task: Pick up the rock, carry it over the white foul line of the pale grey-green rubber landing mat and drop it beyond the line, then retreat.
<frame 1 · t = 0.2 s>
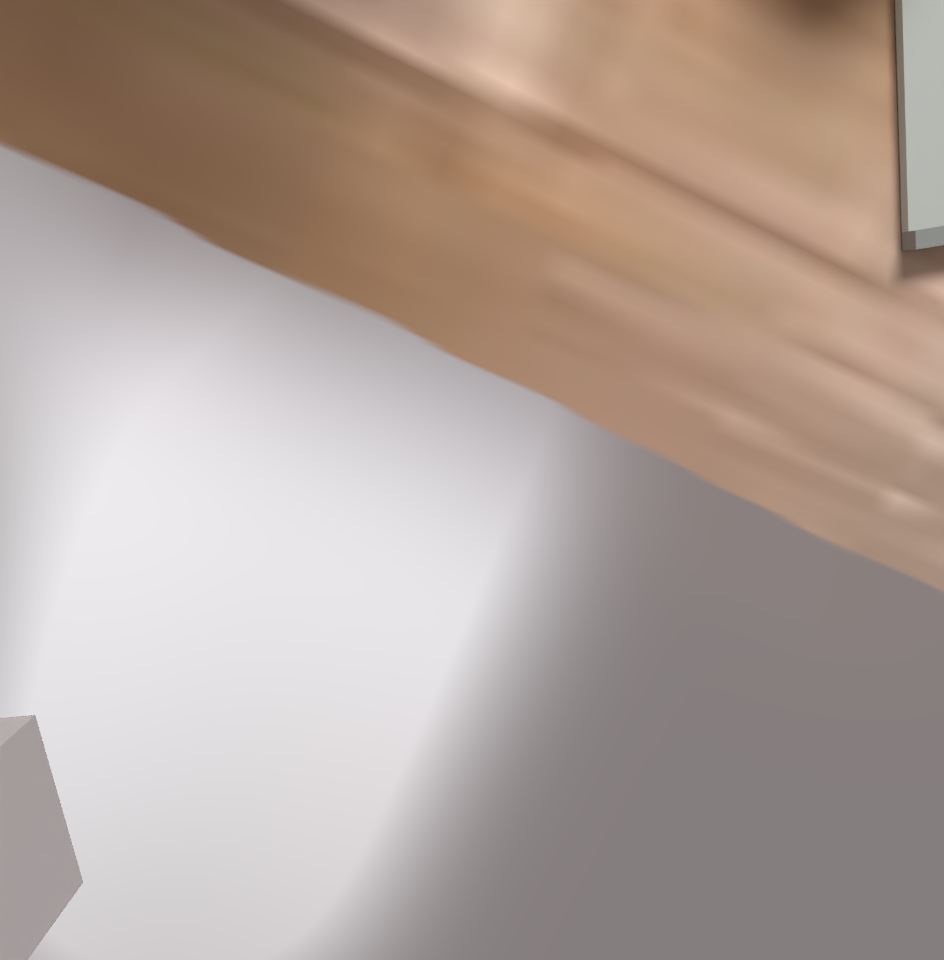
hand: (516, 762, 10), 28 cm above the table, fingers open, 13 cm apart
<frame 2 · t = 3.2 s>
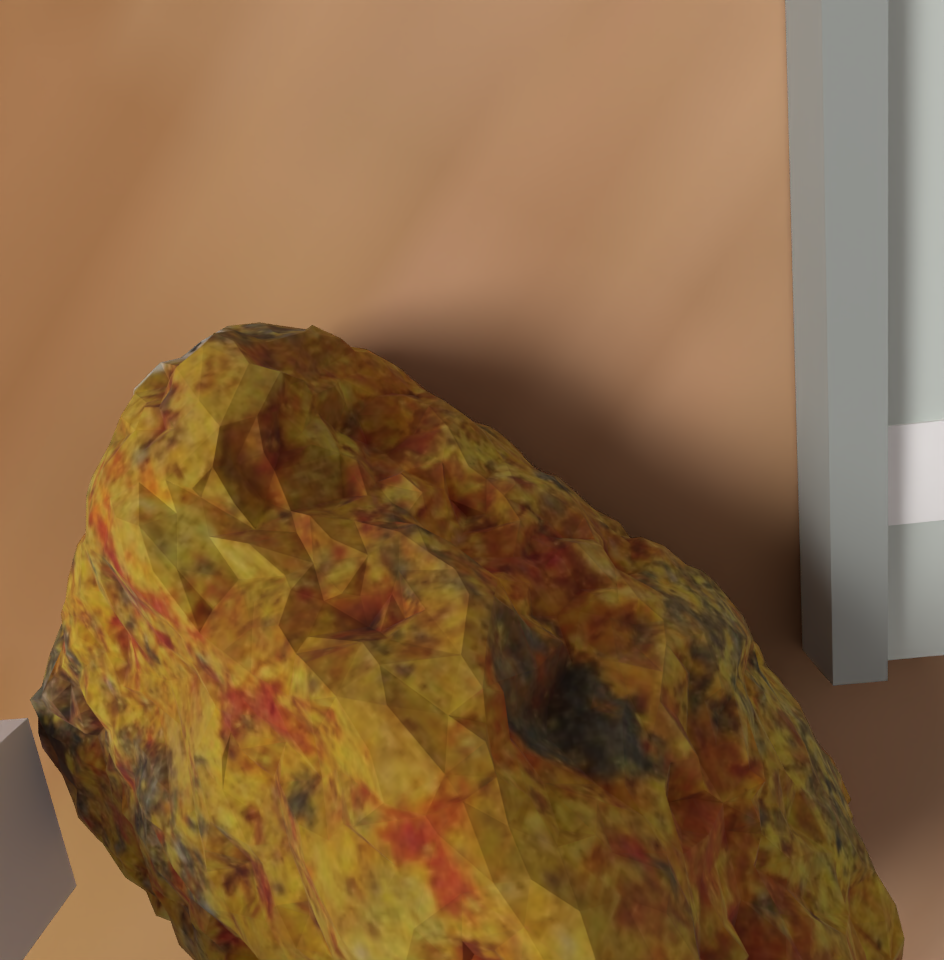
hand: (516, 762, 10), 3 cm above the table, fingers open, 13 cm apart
rock: (469, 638, 13), on the table, touching gripper
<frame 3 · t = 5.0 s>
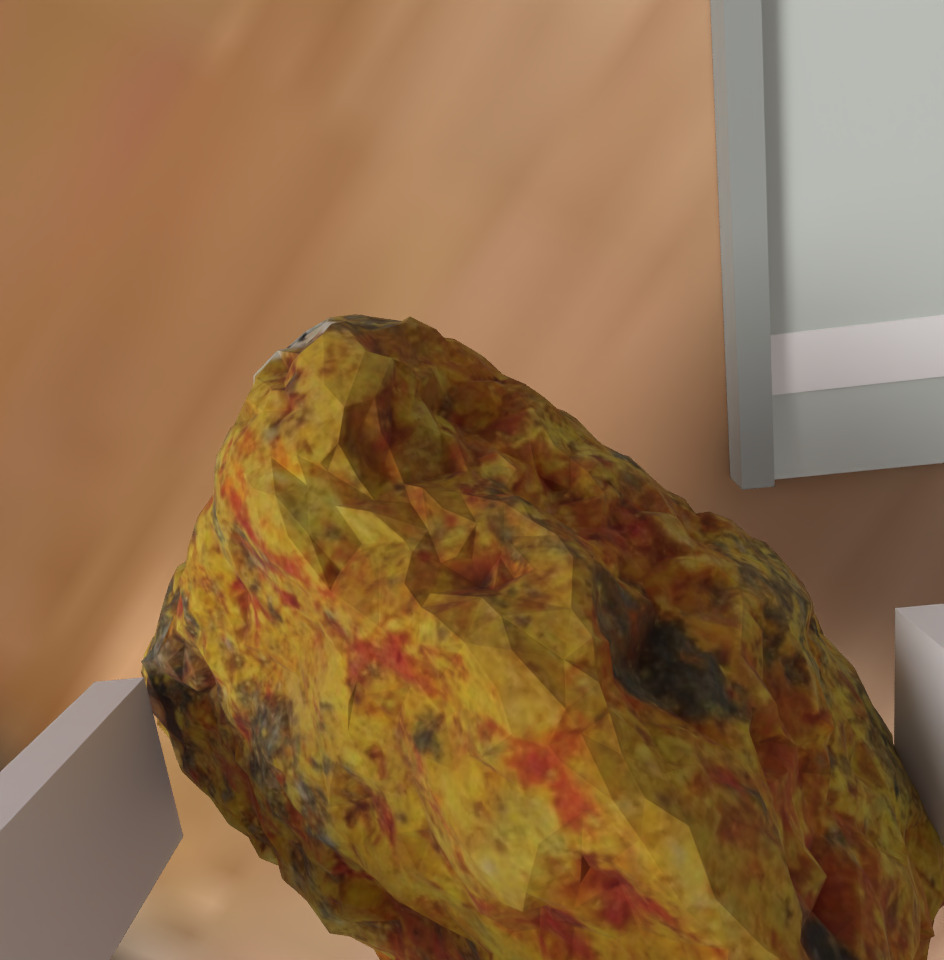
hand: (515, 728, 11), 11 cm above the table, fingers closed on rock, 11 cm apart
rock: (532, 611, 14), point 7 cm above the table, touching gripper
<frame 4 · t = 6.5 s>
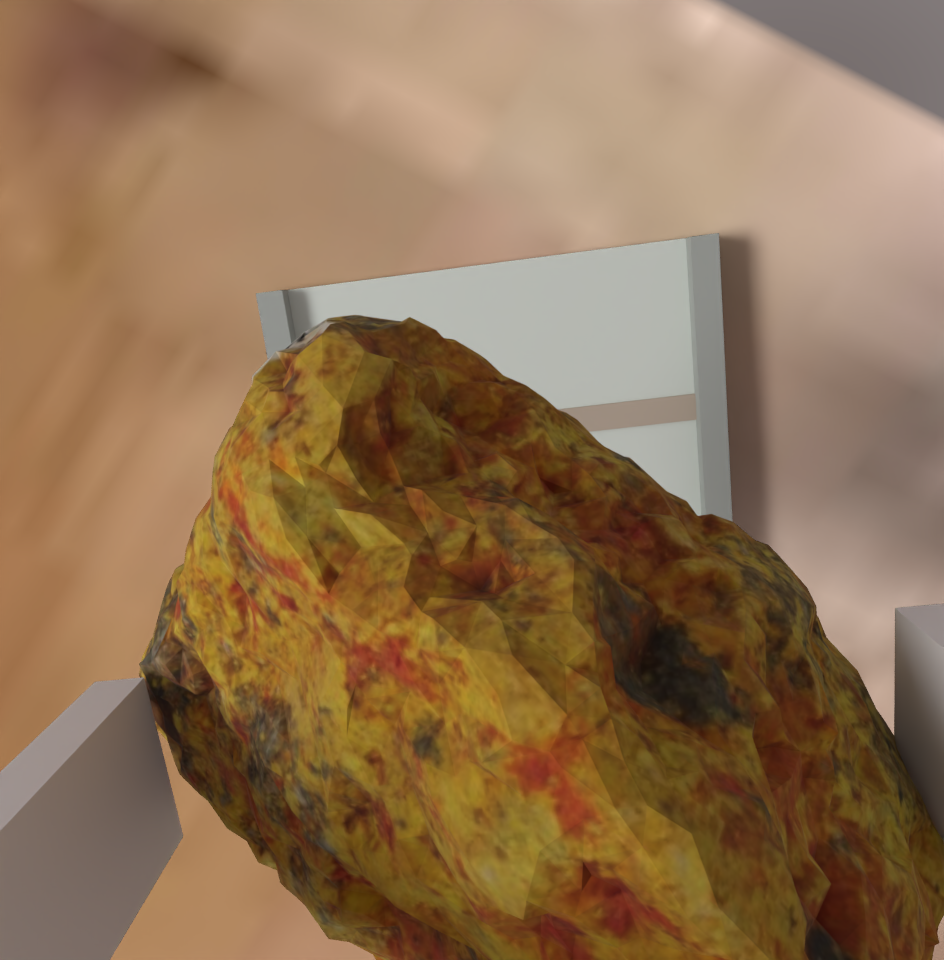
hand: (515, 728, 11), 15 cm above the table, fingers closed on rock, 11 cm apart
rock: (532, 613, 14), point 11 cm above the table, touching gripper
landing mat: (515, 542, 26), on the table
when the fingers open (4 cm above the table, at t = 8.1 s): rock stays where it is, resting on landing mat.
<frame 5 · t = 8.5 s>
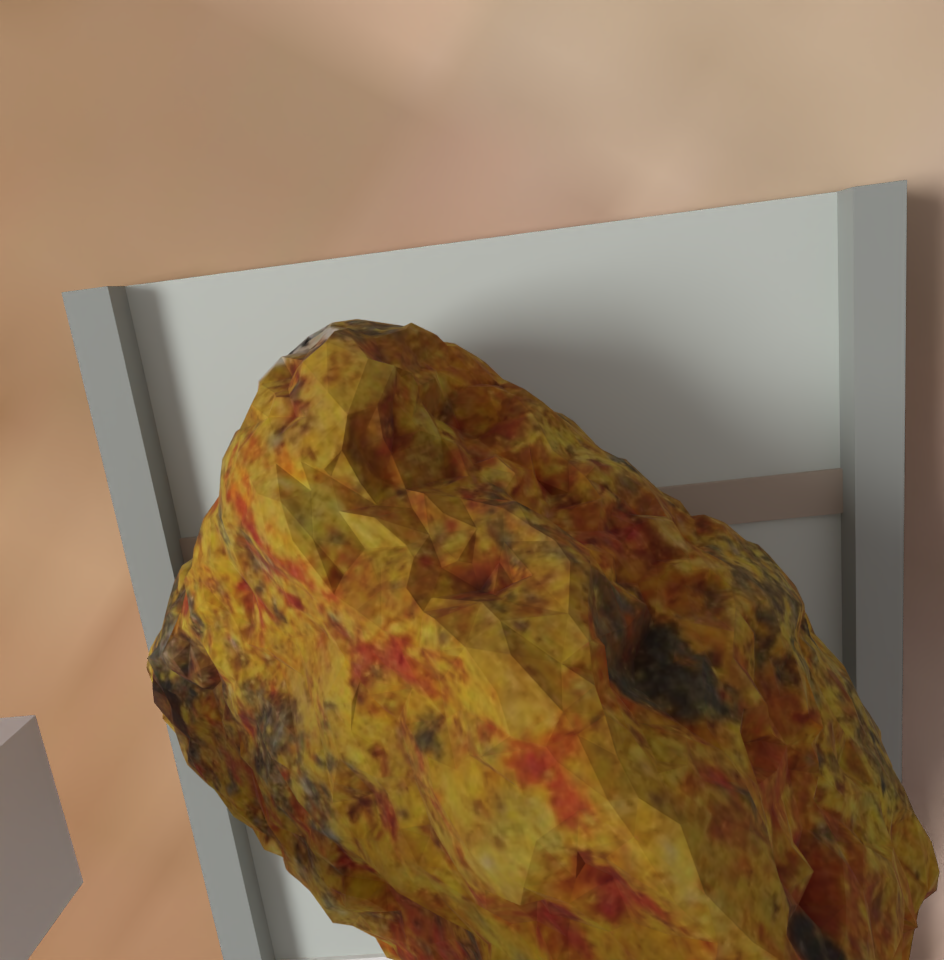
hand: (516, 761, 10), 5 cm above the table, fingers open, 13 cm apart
rock: (530, 608, 15), resting on landing mat
landing mat: (525, 704, 16), on the table
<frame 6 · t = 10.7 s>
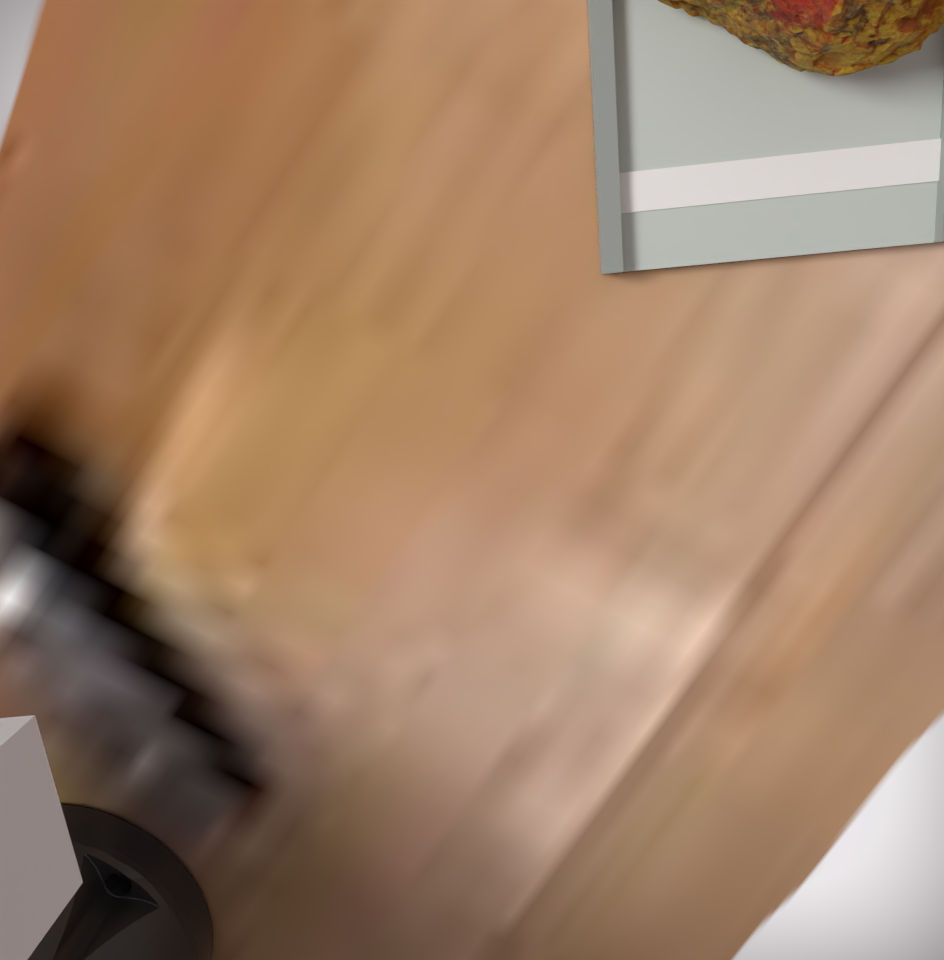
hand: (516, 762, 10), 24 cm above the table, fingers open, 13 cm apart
landing mat: (771, 9, 29), on the table
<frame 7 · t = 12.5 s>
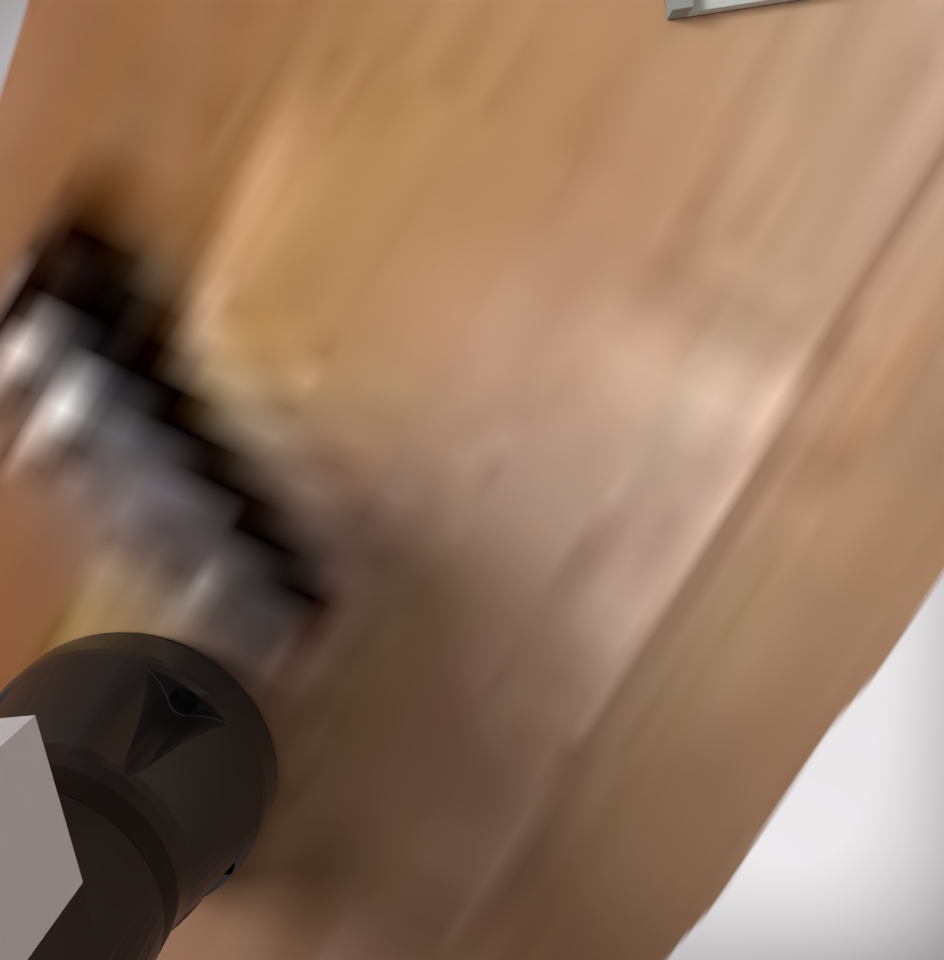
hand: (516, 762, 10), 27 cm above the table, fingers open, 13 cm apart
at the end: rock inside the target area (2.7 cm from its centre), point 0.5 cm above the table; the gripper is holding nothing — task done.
